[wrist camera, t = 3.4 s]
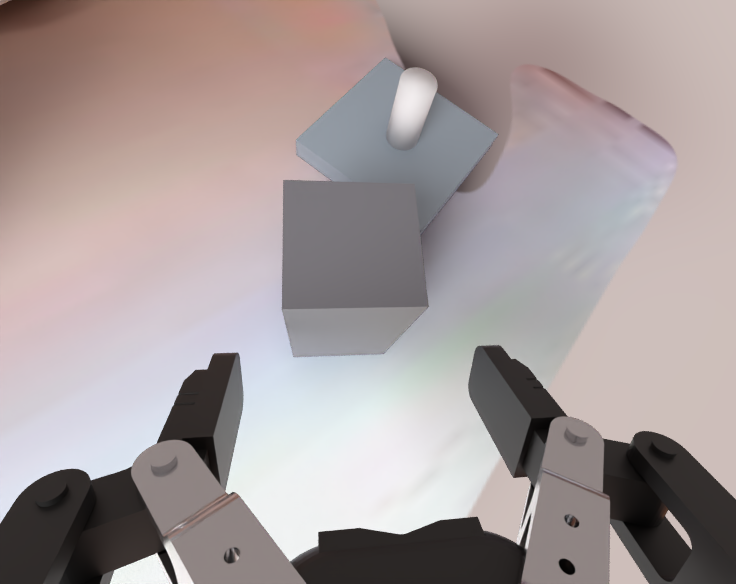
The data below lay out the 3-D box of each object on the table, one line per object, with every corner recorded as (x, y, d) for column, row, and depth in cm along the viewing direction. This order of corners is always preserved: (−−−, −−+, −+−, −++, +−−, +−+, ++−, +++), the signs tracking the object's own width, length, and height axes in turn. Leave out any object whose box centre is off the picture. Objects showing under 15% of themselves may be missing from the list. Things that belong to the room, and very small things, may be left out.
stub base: (296, 154, 27) (293, 82, 21) (381, 74, 30) (397, -6, 25) (415, 241, 26) (444, 189, 20) (489, 148, 29) (531, 81, 24)
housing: (293, 357, 23) (282, 309, 14) (293, 271, 24) (283, 179, 15) (383, 353, 23) (428, 306, 14) (377, 271, 25) (414, 183, 16)
